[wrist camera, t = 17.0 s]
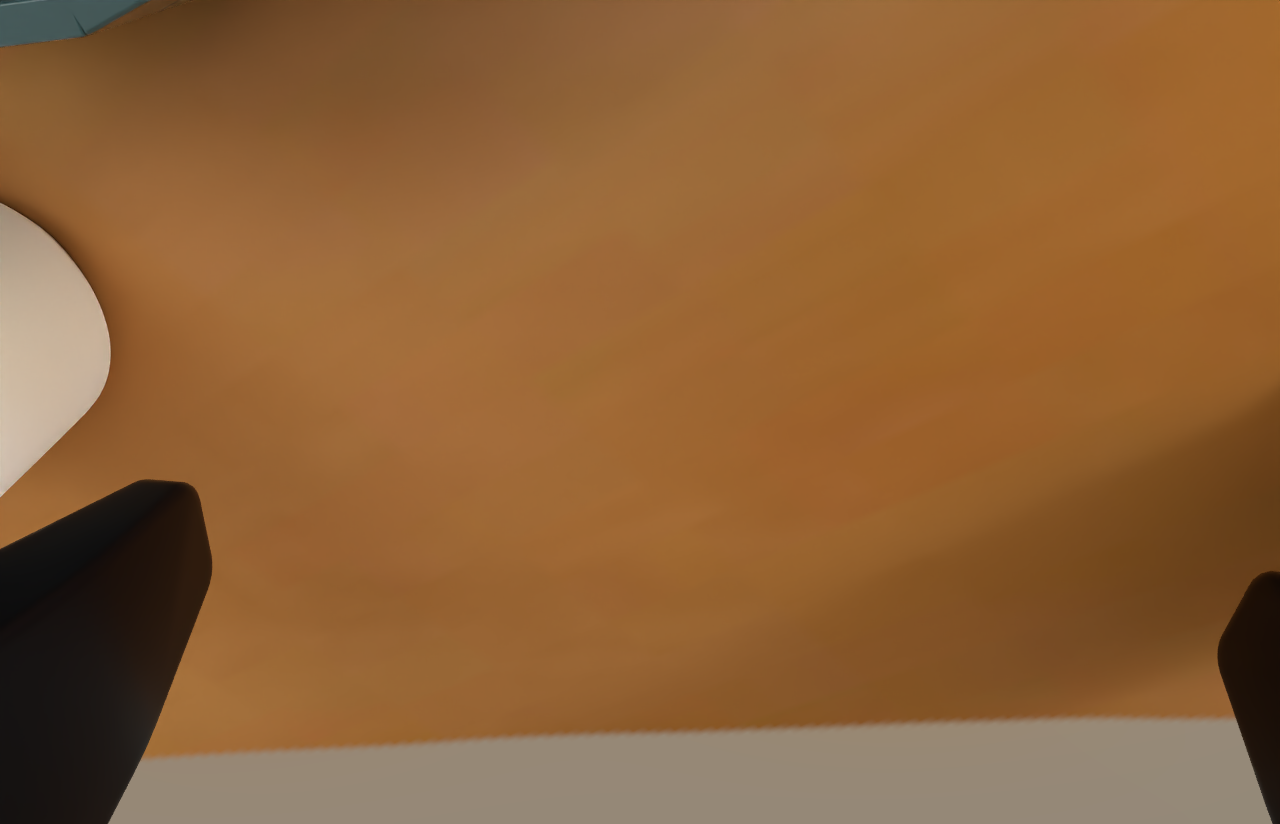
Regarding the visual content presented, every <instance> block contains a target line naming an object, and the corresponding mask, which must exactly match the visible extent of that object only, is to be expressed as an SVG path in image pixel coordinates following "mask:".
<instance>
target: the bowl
mask: <svg viewBox="0 0 1280 824" xmlns="http://www.w3.org/2000/svg"><path fill="white" fill-rule="evenodd" d="M190 1H193V0H0V48H2V47H10V46H18V45H26V44H34V43H42V42H50V41H58V40H66V39H75V38H83V37H86V36H89V35H92V34H95V33H98V32H101V31H104V30H107V29H110V28H113V27H116V26H119V25H122V24H125V23H128V22H131V21H134V20H137V19H140V18H143V17H146V16H149V15H152V14H155V13H157V12H160V11H163V10H166V9H169V8H172V7H175V6H178V5H181V4H184V3H187V2H190Z"/></svg>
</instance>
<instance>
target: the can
mask: <svg viewBox="0 0 1280 824" xmlns="http://www.w3.org/2000/svg"><path fill="white" fill-rule="evenodd" d="M110 358H111V348H110V339H109V333H108V328H107V324H106V321H105V318H104V315H103V312H102V309H101V307H100V304H99V302H98V300H97V298H96V296H95V294H94V292H93V290H92V288H91V286H90V284H89V283H88V281H87V279H86V278H85V276H84V275H83V273H82V272H81V270H80V269H79V267H78V266H77V265H76V263H75V262H74V261H73V260H72V258H71V257H70V256H69V255H68V253H67V252H66V251H65V250H64V249H63V248H62V247H61V245H60V244H59V243H58V242H57V241H56V240H55V239H54V238H53V237H52V236H51V235H49V234H48V233H47V232H46V231H45V230H43V229H42V228H41V227H39V226H38V225H37V224H35V223H34V222H32V221H31V220H29V219H28V218H26V217H24V216H23V215H21V214H19V213H18V212H16V211H15V210H13V209H11V208H9V207H7V206H6V205H4V204H2V203H0V497H1V496H2V495H3V494H4V493H5V492H6V491H7V490H8V489H9V488H10V487H11V486H12V485H13V484H14V483H15V482H16V481H17V480H18V479H20V478H21V477H22V476H23V475H24V474H25V473H26V472H27V471H28V470H29V469H30V468H31V467H32V466H33V465H34V464H35V463H36V462H37V461H38V460H39V459H40V458H41V457H42V456H43V455H44V454H45V453H46V452H47V451H48V450H49V449H50V448H51V447H52V446H53V445H54V444H55V443H56V442H57V441H58V440H59V439H60V438H61V437H62V436H63V435H64V434H65V433H66V432H67V431H68V430H69V429H70V428H71V427H72V426H73V425H74V424H75V423H76V422H77V421H78V420H79V419H80V418H81V417H82V416H83V415H84V414H85V413H86V412H87V411H88V410H89V409H90V408H91V406H92V405H93V404H94V403H95V401H96V400H97V399H98V397H99V396H100V394H101V392H102V390H103V388H104V386H105V383H106V380H107V377H108V373H109V368H110Z"/></svg>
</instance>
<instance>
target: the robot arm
mask: <svg viewBox="0 0 1280 824" xmlns="http://www.w3.org/2000/svg"><path fill="white" fill-rule="evenodd" d="M211 575H212V556H211V551H210V546H209V541H208V536H207V531H206V527H205V522H204V517H203V512H202V507H201V502H200V499H199V496H198V493H197V491H196V490H195V488H194V487H193V486H191V485H190V484H188V483H185V482H175V481H163V480H139V481H137V482H134V483H132V484H130V485H128V486H126V487H124V488H122V489H120V490H118V491H116V492H114V493H112V494H110V495H108V496H106V497H104V498H102V499H100V500H98V501H96V502H94V503H92V504H90V505H88V506H86V507H84V508H82V509H80V510H78V511H76V512H74V513H72V514H70V515H68V516H66V517H64V518H62V519H60V520H58V521H56V522H54V523H52V524H50V525H48V526H46V527H44V528H42V529H40V530H38V531H36V532H34V533H32V534H30V535H28V536H26V537H23V538H21V539H19V540H17V541H15V542H13V543H11V544H9V545H7V546H5V547H3V548H1V549H0V824H108V822H109V821H110V819H111V816H112V815H113V813H114V811H115V809H116V807H117V805H118V803H119V801H120V799H121V797H122V795H123V793H124V792H125V790H126V788H127V786H128V784H129V782H130V780H131V778H132V776H133V774H134V772H135V770H136V768H137V766H138V764H139V762H140V760H141V758H142V755H143V753H144V751H145V749H146V747H147V745H148V742H149V740H150V738H151V735H152V733H153V730H154V728H155V726H156V723H157V721H158V718H159V716H160V713H161V710H162V708H163V705H164V703H165V700H166V697H167V695H168V692H169V690H170V687H171V684H172V682H173V679H174V676H175V674H176V671H177V669H178V666H179V663H180V661H181V658H182V656H183V653H184V650H185V648H186V645H187V643H188V640H189V637H190V635H191V632H192V629H193V627H194V624H195V622H196V619H197V616H198V614H199V611H200V609H201V606H202V603H203V601H204V598H205V595H206V593H207V590H208V587H209V584H210V580H211ZM1217 657H1218V665H1219V670H1220V673H1221V676H1222V679H1223V682H1224V685H1225V688H1226V691H1227V694H1228V696H1229V699H1230V702H1231V705H1232V708H1233V711H1234V714H1235V717H1236V720H1237V723H1238V726H1239V728H1240V731H1241V734H1242V737H1243V740H1244V743H1245V746H1246V749H1247V752H1248V755H1249V758H1250V761H1251V763H1252V766H1253V769H1254V772H1255V775H1256V778H1257V781H1258V784H1259V787H1260V790H1261V793H1262V796H1263V798H1264V801H1265V804H1266V807H1267V810H1268V813H1269V815H1270V817H1271V821H1272V823H1273V824H1280V572H1277V571H1269V572H1265V573H1261V574H1260V575H1259V576H1257V577H1256V578H1255V579H1253V581H1252V582H1251V584H1250V585H1249V587H1248V589H1247V591H1246V592H1245V594H1244V596H1243V598H1242V600H1241V601H1240V603H1239V605H1238V607H1237V609H1236V611H1235V612H1234V614H1233V616H1232V618H1231V620H1230V622H1229V623H1228V625H1227V627H1226V629H1225V631H1224V633H1223V634H1222V636H1221V639H1220V641H1219V646H1218V656H1217Z"/></svg>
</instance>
